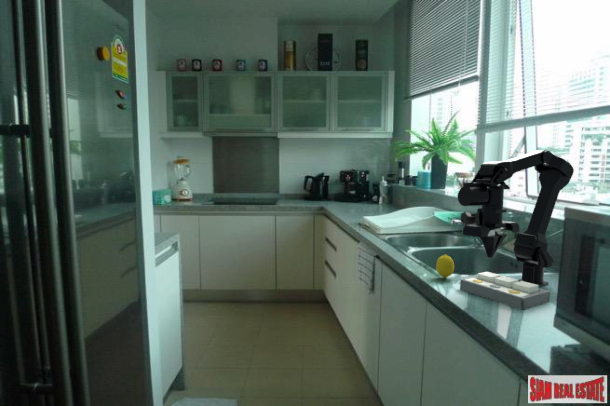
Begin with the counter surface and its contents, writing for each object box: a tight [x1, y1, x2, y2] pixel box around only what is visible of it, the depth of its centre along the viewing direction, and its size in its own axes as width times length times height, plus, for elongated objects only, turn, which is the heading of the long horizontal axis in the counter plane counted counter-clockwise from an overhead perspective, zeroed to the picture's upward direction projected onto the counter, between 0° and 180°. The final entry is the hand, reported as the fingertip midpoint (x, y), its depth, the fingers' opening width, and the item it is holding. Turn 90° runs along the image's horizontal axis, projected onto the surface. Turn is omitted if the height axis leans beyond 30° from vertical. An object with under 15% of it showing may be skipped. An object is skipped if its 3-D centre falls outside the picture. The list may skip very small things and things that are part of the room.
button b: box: [494, 275, 519, 288], centre depth 107 cm, size 4×4×2 cm
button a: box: [476, 271, 501, 283], centre depth 112 cm, size 4×4×2 cm
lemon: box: [435, 253, 455, 279], centre depth 123 cm, size 6×6×8 cm
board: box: [459, 275, 551, 311], centre depth 107 cm, size 12×19×3 cm, turn 29°
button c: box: [513, 281, 540, 294], centre depth 102 cm, size 4×4×2 cm
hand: (490, 257), depth 112 cm, fingers closed
